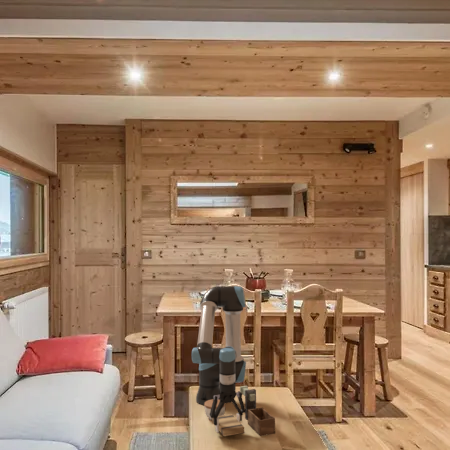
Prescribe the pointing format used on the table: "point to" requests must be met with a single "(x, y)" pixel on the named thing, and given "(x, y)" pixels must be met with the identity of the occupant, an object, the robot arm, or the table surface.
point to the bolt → (250, 395)
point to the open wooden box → (261, 421)
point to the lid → (229, 425)
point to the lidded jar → (209, 404)
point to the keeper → (249, 402)
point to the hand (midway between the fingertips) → (227, 429)
